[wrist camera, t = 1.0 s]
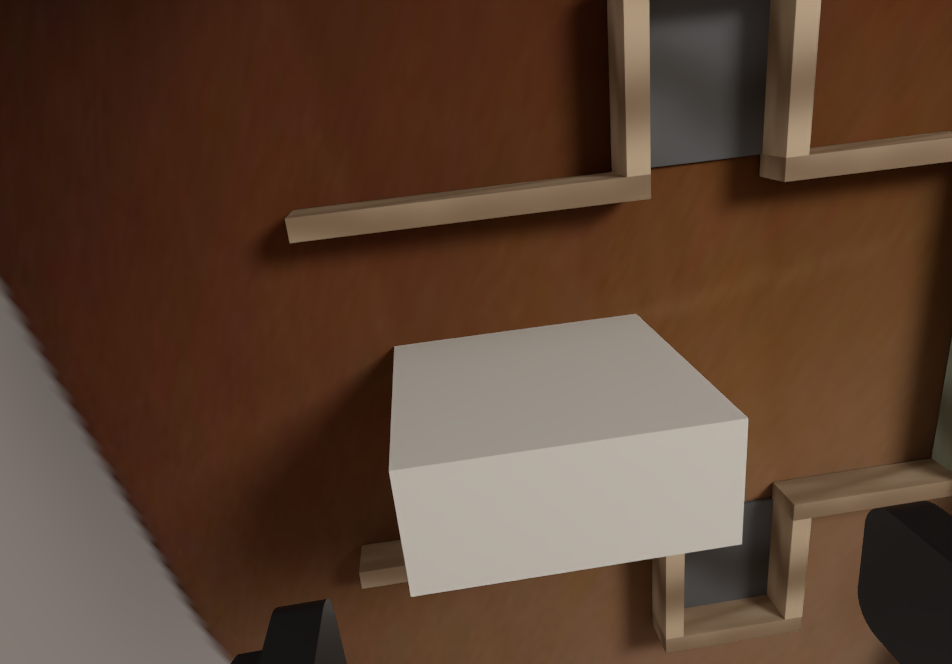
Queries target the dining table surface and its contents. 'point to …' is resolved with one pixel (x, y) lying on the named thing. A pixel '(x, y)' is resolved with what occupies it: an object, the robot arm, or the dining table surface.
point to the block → (558, 454)
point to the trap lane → (633, 155)
